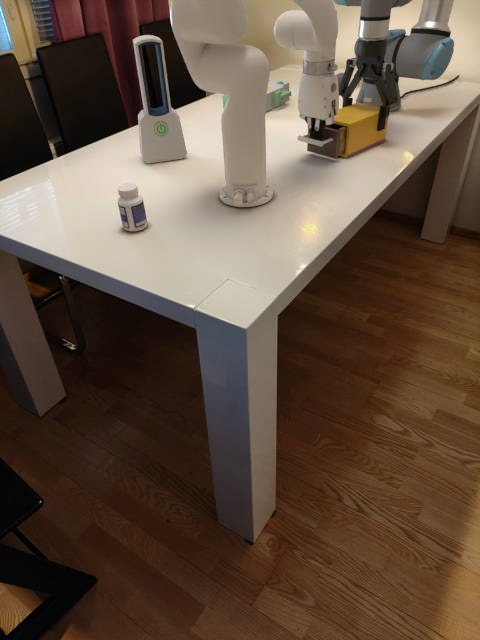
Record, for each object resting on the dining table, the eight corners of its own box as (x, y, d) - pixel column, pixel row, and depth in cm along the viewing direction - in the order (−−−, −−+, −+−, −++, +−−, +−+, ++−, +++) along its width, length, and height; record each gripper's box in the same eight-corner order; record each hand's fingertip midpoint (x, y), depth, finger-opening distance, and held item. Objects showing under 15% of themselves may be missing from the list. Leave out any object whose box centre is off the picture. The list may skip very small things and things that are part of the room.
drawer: (322, 164, 126) (324, 136, 122) (294, 156, 132) (294, 129, 128) (372, 142, 138) (375, 116, 134) (344, 135, 144) (346, 110, 139)
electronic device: (143, 164, 135) (122, 41, 116) (140, 155, 141) (120, 37, 122) (187, 158, 137) (173, 36, 119) (183, 149, 143) (169, 32, 124)
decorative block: (254, 76, 186) (299, 81, 176) (254, 94, 190) (299, 100, 180) (212, 92, 170) (260, 98, 160) (214, 111, 174) (260, 118, 164)
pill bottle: (149, 220, 107) (142, 181, 102) (146, 231, 103) (138, 191, 98) (125, 221, 107) (116, 182, 102) (121, 232, 103) (112, 193, 98)
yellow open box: (347, 158, 132) (350, 124, 126) (315, 149, 138) (317, 116, 133) (385, 140, 141) (389, 108, 136) (354, 133, 148) (357, 102, 142)
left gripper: (353, 68, 114) (347, 146, 126) (305, 61, 123) (303, 134, 135) (333, 74, 111) (329, 154, 122) (285, 67, 120) (285, 142, 131)
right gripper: (421, 39, 121) (406, 130, 135) (344, 33, 135) (338, 116, 149) (404, 44, 117) (391, 137, 131) (327, 37, 131) (323, 121, 145)
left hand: (315, 144), depth 128 cm, fingers closed
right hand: (363, 126), depth 140 cm, fingers closed on yellow open box, 11 cm apart
